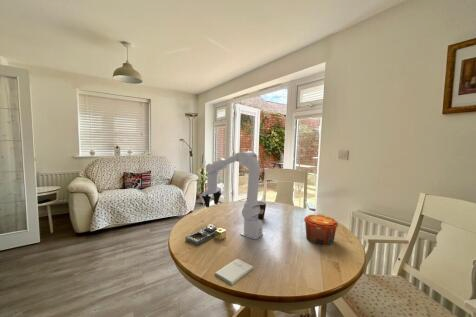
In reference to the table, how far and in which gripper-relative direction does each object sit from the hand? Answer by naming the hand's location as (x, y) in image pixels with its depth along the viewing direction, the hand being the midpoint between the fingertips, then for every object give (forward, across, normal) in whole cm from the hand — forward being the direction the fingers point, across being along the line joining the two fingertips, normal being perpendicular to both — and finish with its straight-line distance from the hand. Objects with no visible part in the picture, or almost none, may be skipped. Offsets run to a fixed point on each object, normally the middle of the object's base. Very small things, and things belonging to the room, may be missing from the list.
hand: (211, 205), depth 124 cm
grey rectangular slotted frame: (+10, +17, +11) cm, 22 cm away
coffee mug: (+10, -24, +18) cm, 32 cm away
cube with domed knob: (+10, +12, +11) cm, 19 cm away
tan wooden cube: (+10, +13, +18) cm, 24 cm away
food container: (+10, -17, +59) cm, 62 cm away
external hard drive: (+11, +31, +40) cm, 51 cm away
